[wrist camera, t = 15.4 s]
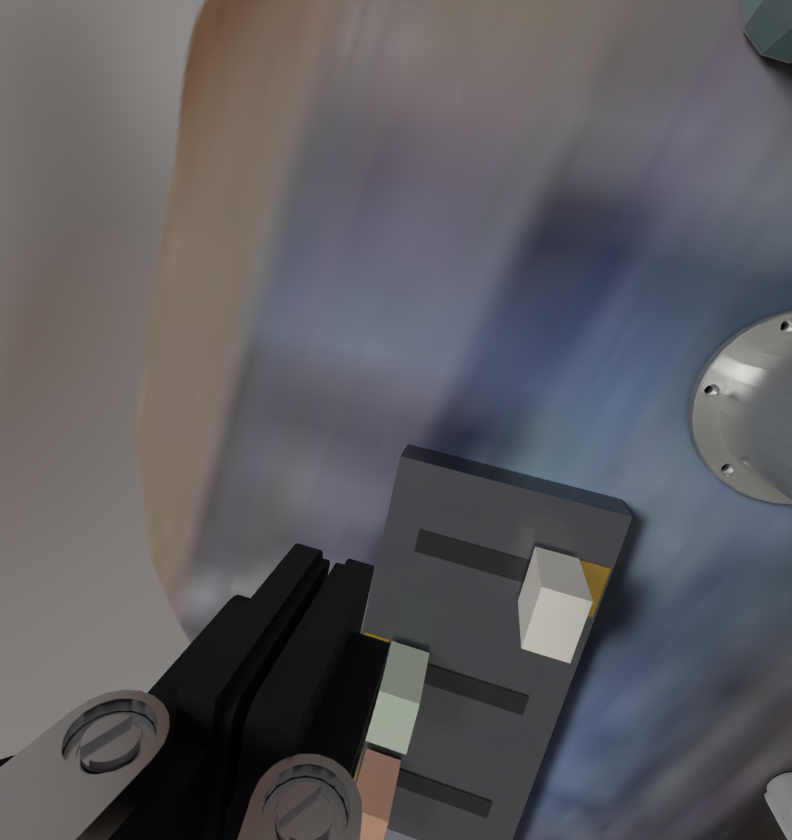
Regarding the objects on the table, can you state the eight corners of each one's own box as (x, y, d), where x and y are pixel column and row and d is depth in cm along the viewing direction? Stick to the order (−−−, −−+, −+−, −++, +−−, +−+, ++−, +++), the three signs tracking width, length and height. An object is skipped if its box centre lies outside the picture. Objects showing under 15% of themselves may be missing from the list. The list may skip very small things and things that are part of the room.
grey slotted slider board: (621, 499, 35) (633, 517, 32) (500, 834, 45) (501, 871, 42) (407, 444, 38) (400, 456, 35) (335, 774, 47) (324, 806, 44)
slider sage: (429, 652, 38) (419, 704, 33) (417, 698, 39) (406, 754, 34) (392, 640, 38) (376, 690, 33) (381, 686, 39) (365, 740, 34)
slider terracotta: (401, 760, 41) (388, 822, 36) (390, 800, 42) (376, 864, 37) (366, 748, 41) (349, 807, 36) (357, 788, 42) (339, 850, 37)
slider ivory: (579, 558, 33) (592, 601, 29) (560, 613, 35) (570, 663, 30) (535, 546, 34) (541, 586, 29) (517, 600, 35) (521, 648, 30)
